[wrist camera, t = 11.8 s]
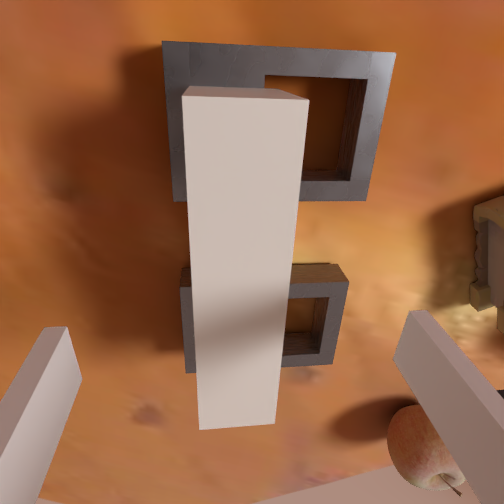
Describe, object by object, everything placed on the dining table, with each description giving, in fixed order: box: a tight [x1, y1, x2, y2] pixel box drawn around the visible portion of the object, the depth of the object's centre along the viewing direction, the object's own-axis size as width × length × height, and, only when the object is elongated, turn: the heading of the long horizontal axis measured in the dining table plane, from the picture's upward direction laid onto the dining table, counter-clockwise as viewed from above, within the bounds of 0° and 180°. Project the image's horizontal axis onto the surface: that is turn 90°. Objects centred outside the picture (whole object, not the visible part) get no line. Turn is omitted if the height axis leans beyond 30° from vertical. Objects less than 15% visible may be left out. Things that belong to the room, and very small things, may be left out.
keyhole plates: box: [162, 41, 396, 373], centre depth 23 cm, size 22×12×2 cm, turn 178°
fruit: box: [387, 404, 466, 497], centre depth 33 cm, size 8×7×8 cm
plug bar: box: [182, 86, 309, 430], centre depth 20 cm, size 18×4×8 cm, turn 178°
